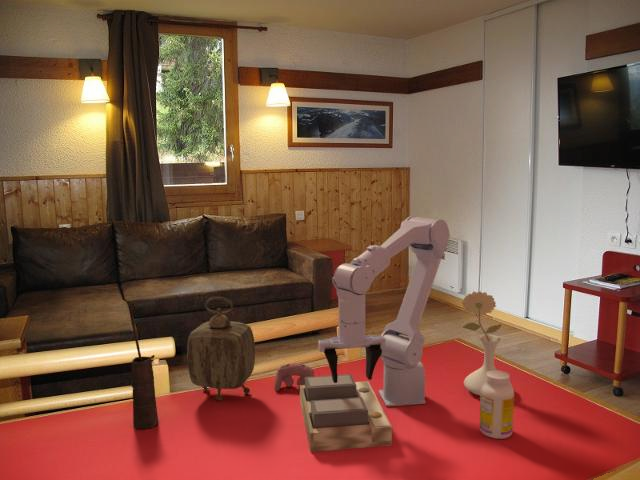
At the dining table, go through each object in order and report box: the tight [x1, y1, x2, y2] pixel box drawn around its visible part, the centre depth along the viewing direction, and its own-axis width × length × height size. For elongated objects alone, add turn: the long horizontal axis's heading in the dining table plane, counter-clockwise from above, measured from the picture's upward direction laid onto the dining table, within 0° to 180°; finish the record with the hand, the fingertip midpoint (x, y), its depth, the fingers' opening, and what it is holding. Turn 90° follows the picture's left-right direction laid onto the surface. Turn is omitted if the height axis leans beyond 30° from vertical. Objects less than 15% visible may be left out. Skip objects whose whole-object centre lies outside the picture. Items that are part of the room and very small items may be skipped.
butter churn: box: [127, 300, 159, 430], centre depth 118 cm, size 9×10×28 cm
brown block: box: [311, 397, 368, 429], centre depth 113 cm, size 11×6×4 cm, turn 98°
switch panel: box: [299, 380, 393, 453], centre depth 119 cm, size 16×22×4 cm
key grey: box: [305, 373, 356, 401], centre depth 125 cm, size 11×6×4 cm, turn 98°
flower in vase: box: [461, 291, 513, 397], centre depth 132 cm, size 13×11×25 cm
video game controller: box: [274, 363, 315, 392], centre depth 137 cm, size 10×5×7 cm, turn 85°
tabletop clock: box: [186, 296, 256, 402], centre depth 130 cm, size 14×9×25 cm, turn 78°
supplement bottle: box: [479, 369, 515, 440], centre depth 114 cm, size 7×7×13 cm
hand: (351, 379), depth 119 cm, fingers open, 7 cm apart
